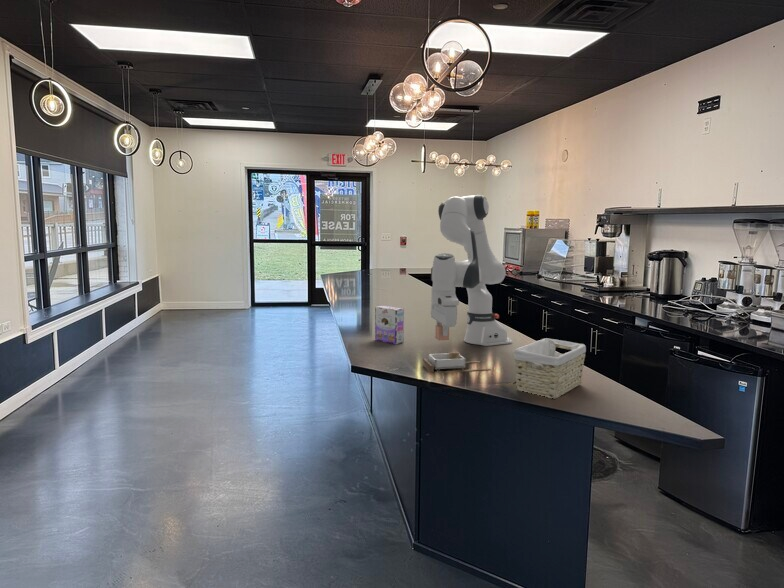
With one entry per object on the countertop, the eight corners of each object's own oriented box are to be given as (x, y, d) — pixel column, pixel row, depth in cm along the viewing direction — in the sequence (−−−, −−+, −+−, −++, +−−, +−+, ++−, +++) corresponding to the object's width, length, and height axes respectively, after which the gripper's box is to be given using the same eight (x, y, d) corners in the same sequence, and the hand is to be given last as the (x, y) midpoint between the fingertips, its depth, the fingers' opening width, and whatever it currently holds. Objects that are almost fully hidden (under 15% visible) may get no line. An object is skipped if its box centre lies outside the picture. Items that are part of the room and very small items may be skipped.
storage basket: (555, 402, 164) (557, 357, 162) (510, 390, 175) (511, 348, 173) (585, 385, 182) (588, 344, 180) (542, 375, 193) (544, 337, 191)
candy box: (404, 342, 242) (404, 308, 240) (395, 345, 238) (396, 309, 236) (383, 338, 251) (383, 304, 249) (374, 340, 247) (374, 306, 245)
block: (445, 337, 197) (445, 324, 196) (448, 340, 193) (449, 326, 192) (435, 338, 196) (435, 325, 195) (438, 340, 192) (439, 327, 192)
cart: (457, 364, 202) (457, 352, 202) (465, 370, 194) (465, 358, 193) (427, 365, 200) (428, 354, 199) (434, 372, 191) (435, 360, 190)
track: (479, 364, 207) (480, 354, 206) (493, 373, 194) (493, 363, 194) (421, 367, 201) (422, 357, 201) (431, 377, 189) (432, 366, 188)
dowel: (456, 361, 199) (457, 351, 199) (460, 364, 196) (460, 353, 195) (447, 361, 198) (447, 351, 198) (450, 364, 195) (451, 354, 194)
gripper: (427, 293, 202) (426, 328, 204) (443, 301, 182) (442, 340, 184) (442, 293, 203) (441, 328, 205) (460, 301, 183) (459, 339, 185)
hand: (442, 334), depth 194 cm, fingers closed on block, 4 cm apart
